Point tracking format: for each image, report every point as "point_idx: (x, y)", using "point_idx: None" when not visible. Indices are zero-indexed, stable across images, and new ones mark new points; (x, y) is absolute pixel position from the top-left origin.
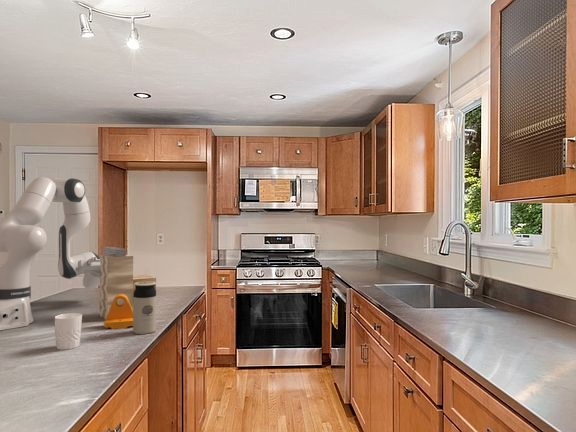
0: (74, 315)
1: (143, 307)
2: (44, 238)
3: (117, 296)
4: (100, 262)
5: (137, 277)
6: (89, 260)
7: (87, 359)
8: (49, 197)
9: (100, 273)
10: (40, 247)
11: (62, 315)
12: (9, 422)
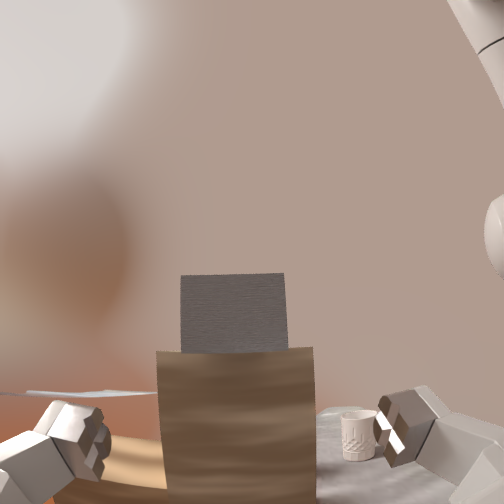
0: (354, 422)
1: None
2: (485, 244)
3: None
4: (314, 393)
5: (140, 456)
6: (479, 440)
7: (327, 438)
8: (470, 41)
9: (315, 457)
10: (499, 274)
11: (371, 418)
12: (358, 407)
